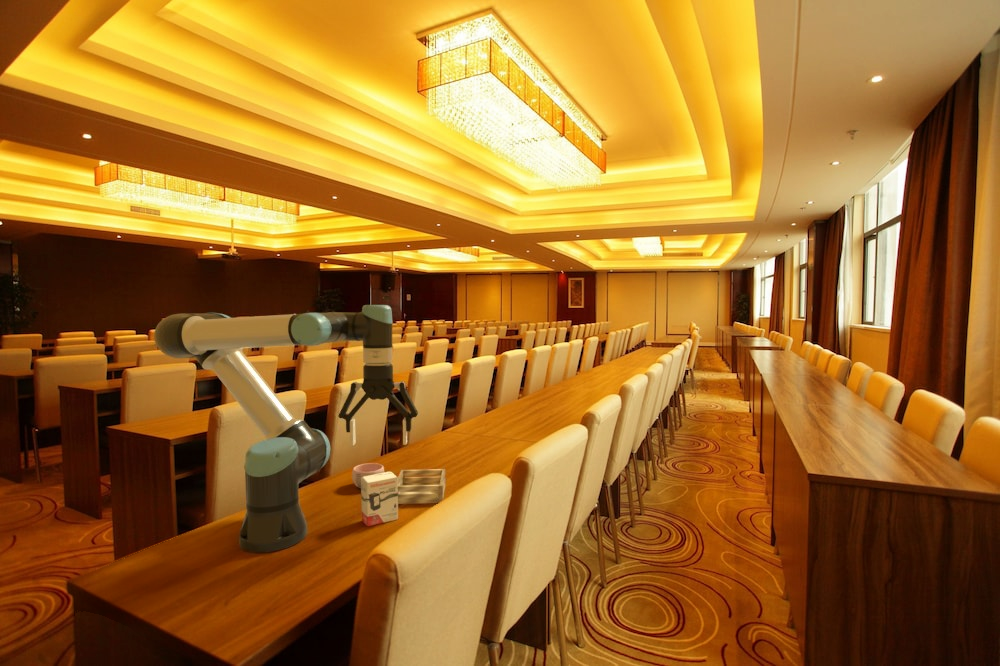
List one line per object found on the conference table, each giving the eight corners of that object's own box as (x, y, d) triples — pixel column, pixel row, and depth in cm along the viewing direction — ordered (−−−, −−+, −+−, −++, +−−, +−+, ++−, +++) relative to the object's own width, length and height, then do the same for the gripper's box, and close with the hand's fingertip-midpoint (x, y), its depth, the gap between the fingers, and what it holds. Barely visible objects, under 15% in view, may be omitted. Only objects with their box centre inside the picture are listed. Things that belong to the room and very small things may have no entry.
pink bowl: (373, 493, 150) (373, 474, 150) (345, 489, 153) (345, 470, 153) (393, 480, 162) (393, 462, 161) (367, 477, 165) (366, 459, 164)
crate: (393, 504, 142) (393, 486, 141) (401, 485, 157) (401, 469, 156) (442, 502, 142) (442, 485, 142) (445, 484, 157) (445, 468, 157)
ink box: (367, 527, 127) (366, 482, 126) (361, 520, 131) (360, 476, 130) (398, 519, 131) (398, 475, 131) (391, 513, 135) (391, 470, 135)
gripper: (325, 365, 125) (326, 448, 126) (424, 365, 126) (425, 447, 127) (333, 362, 132) (334, 440, 133) (427, 361, 134) (427, 439, 135)
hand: (379, 444), depth 130 cm, fingers open, 13 cm apart
